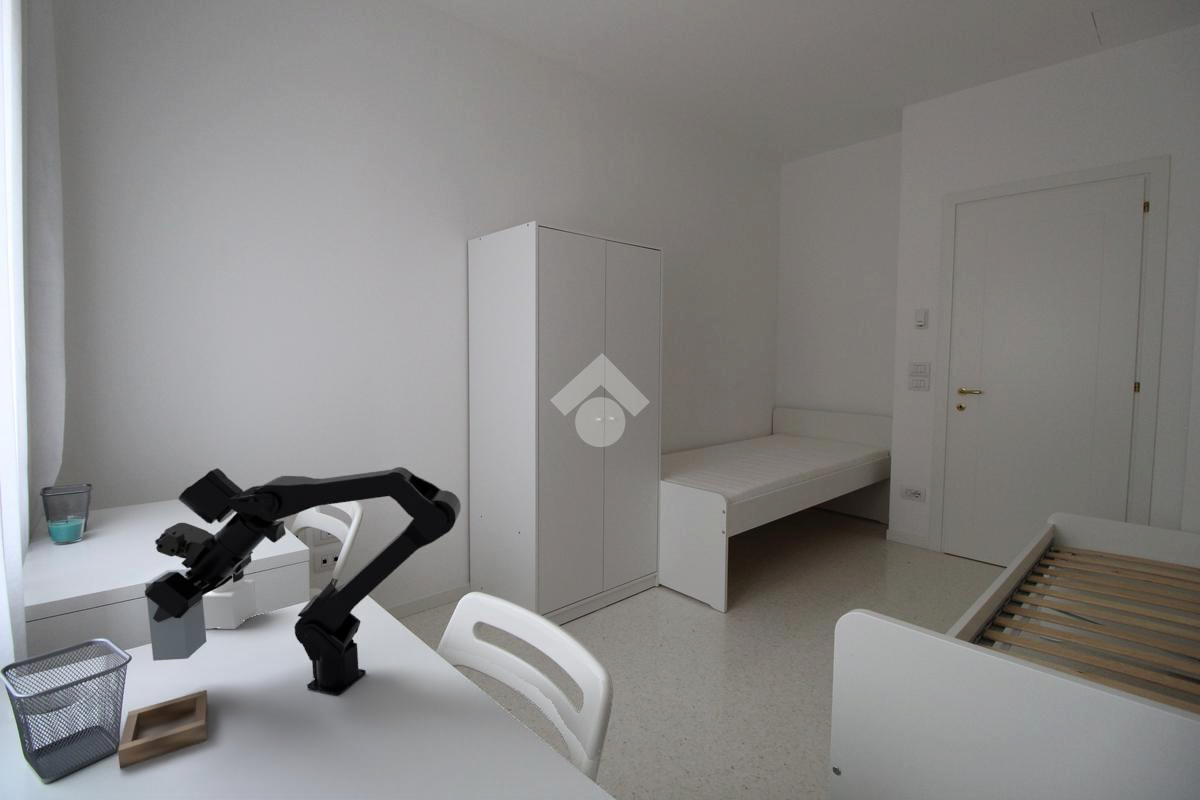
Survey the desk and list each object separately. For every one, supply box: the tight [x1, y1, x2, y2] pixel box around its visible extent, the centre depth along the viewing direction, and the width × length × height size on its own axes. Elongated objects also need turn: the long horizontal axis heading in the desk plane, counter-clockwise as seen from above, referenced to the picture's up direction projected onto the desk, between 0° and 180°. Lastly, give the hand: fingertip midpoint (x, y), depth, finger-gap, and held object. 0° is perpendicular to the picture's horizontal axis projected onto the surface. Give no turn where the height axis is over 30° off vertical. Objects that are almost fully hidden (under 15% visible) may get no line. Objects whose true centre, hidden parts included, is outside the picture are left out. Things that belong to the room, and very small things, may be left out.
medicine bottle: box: [202, 567, 258, 630], centre depth 113 cm, size 7×7×12 cm
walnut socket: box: [117, 689, 209, 769], centre depth 81 cm, size 9×9×2 cm
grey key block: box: [145, 568, 207, 662], centre depth 90 cm, size 5×5×12 cm
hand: (167, 611), depth 90 cm, fingers closed on grey key block, 5 cm apart
